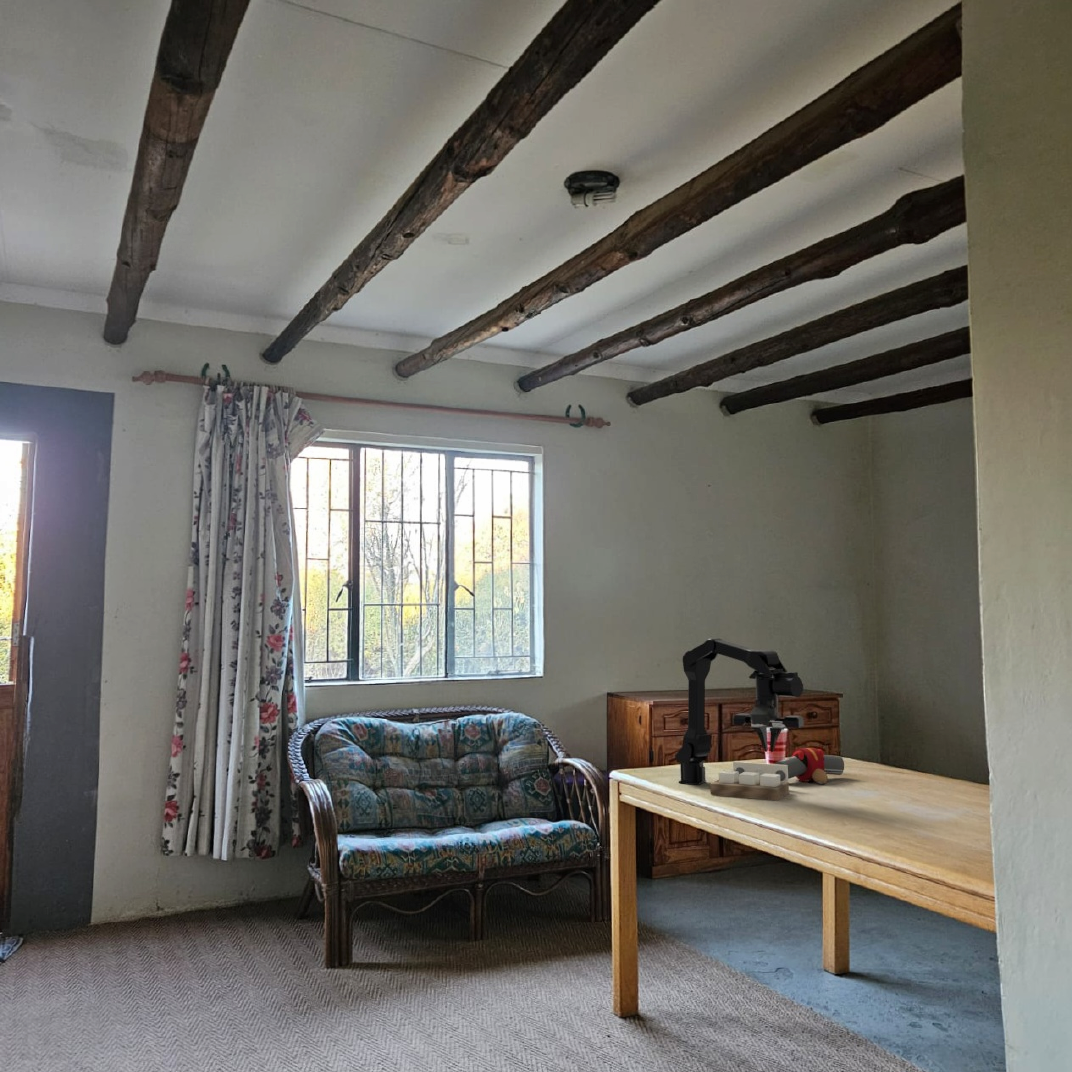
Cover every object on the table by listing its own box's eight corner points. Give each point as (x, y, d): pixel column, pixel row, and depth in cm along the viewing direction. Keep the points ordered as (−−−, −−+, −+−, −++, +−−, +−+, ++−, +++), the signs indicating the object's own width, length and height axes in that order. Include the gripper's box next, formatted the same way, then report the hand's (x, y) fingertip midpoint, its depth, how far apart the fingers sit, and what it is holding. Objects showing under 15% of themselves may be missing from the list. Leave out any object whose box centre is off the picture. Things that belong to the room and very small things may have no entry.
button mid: (739, 788, 258) (738, 774, 258) (744, 786, 261) (744, 771, 262) (754, 790, 255) (754, 775, 256) (759, 787, 259) (759, 773, 259)
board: (710, 794, 258) (710, 783, 259) (724, 787, 268) (723, 777, 268) (777, 800, 248) (776, 789, 249) (789, 793, 258) (788, 782, 258)
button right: (760, 790, 254) (759, 775, 255) (765, 787, 258) (764, 773, 258) (776, 791, 252) (775, 777, 252) (780, 789, 256) (780, 774, 256)
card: (733, 786, 270) (732, 761, 271) (734, 785, 271) (733, 761, 272) (787, 790, 262) (786, 765, 263) (788, 789, 263) (787, 765, 263)
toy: (765, 787, 279) (797, 794, 265) (759, 753, 280) (790, 758, 266) (824, 770, 288) (858, 776, 274) (819, 737, 289) (851, 741, 275)
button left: (719, 787, 261) (718, 772, 261) (724, 784, 264) (723, 770, 265) (734, 788, 258) (733, 773, 259) (739, 785, 262) (738, 771, 262)
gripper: (724, 696, 255) (727, 753, 254) (791, 699, 246) (794, 758, 244) (738, 693, 265) (740, 748, 263) (803, 695, 255) (805, 752, 254)
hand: (769, 751), depth 256 cm, fingers closed
